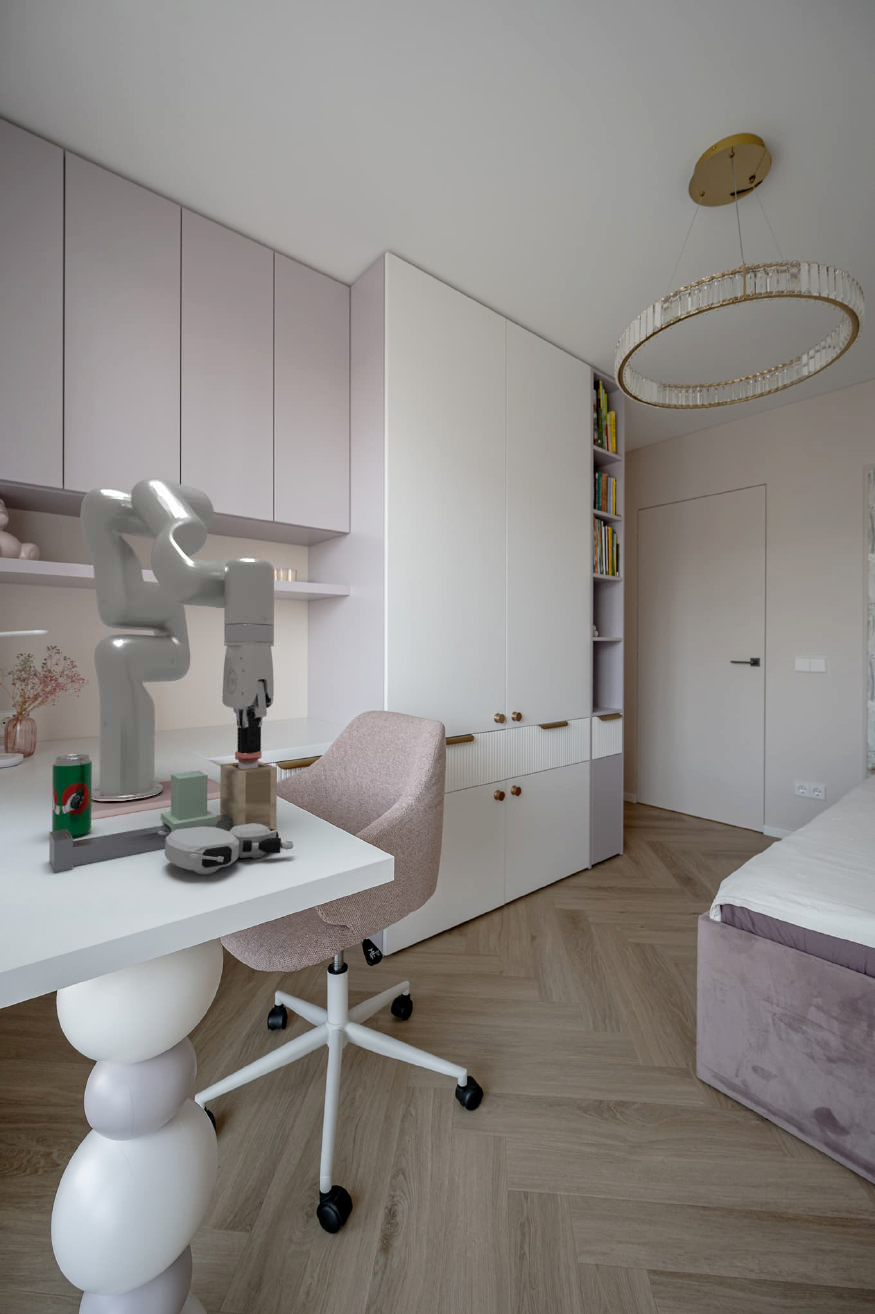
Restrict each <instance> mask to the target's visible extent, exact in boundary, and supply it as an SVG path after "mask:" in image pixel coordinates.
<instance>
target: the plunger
mask: <svg viewBox="0 0 875 1314" xmlns="http://www.w3.org/2000/svg"><path fill="white" fill-rule="evenodd" d="M262 752H263V750H261V751H259V752H251V753H241V752H238V750H237V751H235V752H234V759H235V760H237V761H238V762H237V763H238V769H240V770H242V769H250V768H258V761H259V759H262Z"/></svg>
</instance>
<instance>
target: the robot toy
mask: <svg viewBox="0 0 875 1314" xmlns="http://www.w3.org/2000/svg"><path fill="white" fill-rule="evenodd" d="M158 833H159V834H160V835H168V836H167V837H166V843H165V848H164V856H165V857H166V859H167V860H168V861H169V863H171V864H172V865H174V866H177V867H179V868H182V869H186V870H188V871H193V872H194V873H196V874H198V875H199V874H200V875H203V876H207V875H211V874H213V873H215V872H216V871H218V870H219V869H220V868H223V867H224V868H225V867H229V866H230V865H231V864H234V862H236V860H238V858H241V859H242V858H252V859H257V858H258V859H259V858H262V857H264V855H265V854H280V853H281V849H282V850H283V849H284V850H286V851H287V850H291V849H293V848H294V843H293V841H289V840H285V841H282V838H281V837H279V833H278V831H277V829H276V830H274V829H272V827H266V826H264V825H262V824H255V823H251V824H245V825H239V826H234V827H233V828H232V829H231V830H230V831H229V832H228V831H226V830H223V829H220V828H215V827H205V826H202V827H194V828H186V829H177V830H175V831H173V832H171V833H166V832H162V831H160V832H158Z"/></svg>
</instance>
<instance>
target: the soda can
mask: <svg viewBox="0 0 875 1314" xmlns="http://www.w3.org/2000/svg"><path fill="white" fill-rule="evenodd" d="M89 757H90V755H89V754H83V753H82V754H80V753H79V754H77V753H76V754H66V755H60V756H56V757H55V761H54V763H53V764H52V775H51V777H52V778H51V780H52V781H51V782H52V787H51V789H52V792H51V793H52V794H51V799H52V800H51V801H52V802H51V803H52V805H51V809H52V811H51V831H57V830H63V829H68V831H69V832H70V834H71V836H72V837H73V839H75V838H80V837H83V836H85V835H87V834H88V833H89V832H90V831H91V830H92V801H93V800H92V784H93V783H92V782H93V781H92V780H93V779H92V778H93V777H92V776H93V775H92V774H93V772H92V771H93V765H92V764H93V762H92V760H91V759H90V758H89Z"/></svg>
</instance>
